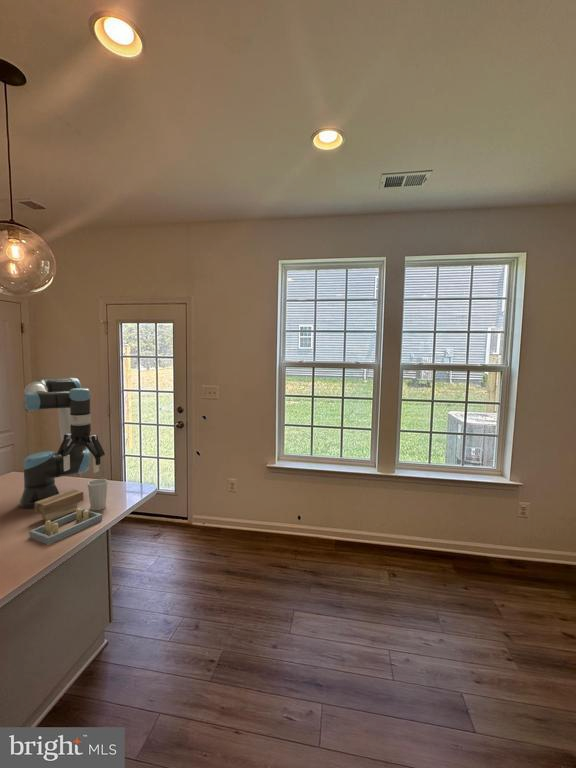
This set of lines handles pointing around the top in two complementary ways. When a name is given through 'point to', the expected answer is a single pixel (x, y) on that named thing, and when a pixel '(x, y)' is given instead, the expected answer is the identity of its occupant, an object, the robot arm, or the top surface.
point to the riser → (59, 512)
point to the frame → (54, 525)
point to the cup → (97, 493)
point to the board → (58, 501)
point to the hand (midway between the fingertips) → (81, 471)
